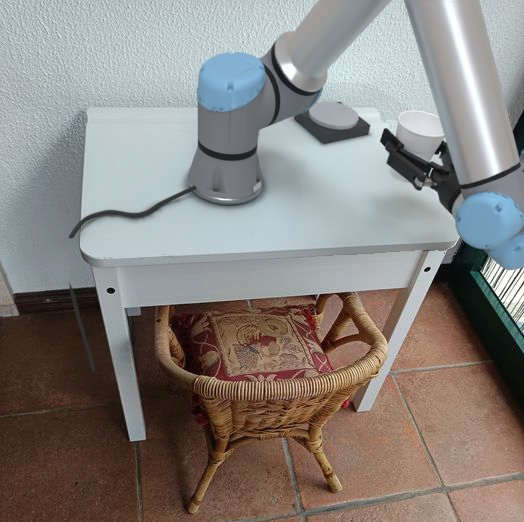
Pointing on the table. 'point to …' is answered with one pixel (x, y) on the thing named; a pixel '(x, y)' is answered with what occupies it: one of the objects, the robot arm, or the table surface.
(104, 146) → the table surface
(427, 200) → the table surface
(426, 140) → the cup
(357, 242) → the table surface
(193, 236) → the table surface
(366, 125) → the scale
